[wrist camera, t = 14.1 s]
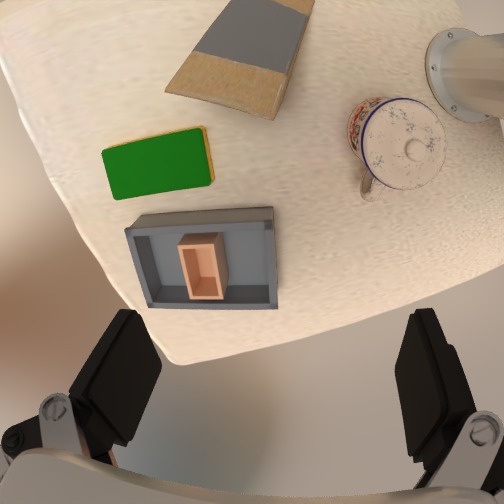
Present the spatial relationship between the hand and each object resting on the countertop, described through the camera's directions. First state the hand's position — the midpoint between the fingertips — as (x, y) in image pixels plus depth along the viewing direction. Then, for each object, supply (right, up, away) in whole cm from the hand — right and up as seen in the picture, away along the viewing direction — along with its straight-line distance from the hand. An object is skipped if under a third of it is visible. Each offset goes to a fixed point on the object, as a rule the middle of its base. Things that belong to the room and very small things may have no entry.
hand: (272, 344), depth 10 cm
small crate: (-6, +3, +33) cm, 33 cm away
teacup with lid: (+14, +16, +24) cm, 32 cm away
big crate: (-6, +3, +33) cm, 34 cm away
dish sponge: (-13, +15, +28) cm, 34 cm away
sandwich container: (+1, +27, +19) cm, 33 cm away
